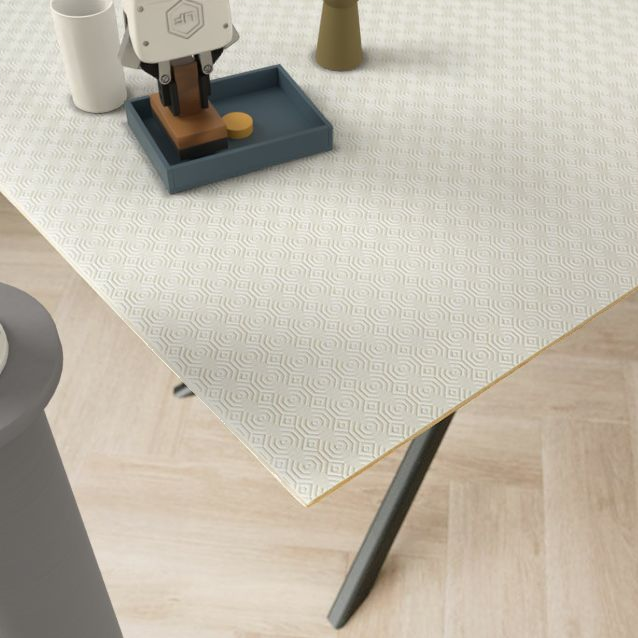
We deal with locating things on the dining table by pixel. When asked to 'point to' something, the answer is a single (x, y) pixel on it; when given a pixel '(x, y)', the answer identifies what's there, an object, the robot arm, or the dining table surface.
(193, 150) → the brush
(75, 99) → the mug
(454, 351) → the dining table surface
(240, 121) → the orange disc
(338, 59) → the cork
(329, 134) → the tray
